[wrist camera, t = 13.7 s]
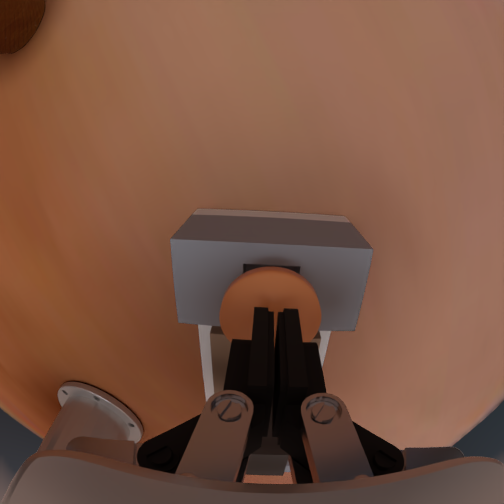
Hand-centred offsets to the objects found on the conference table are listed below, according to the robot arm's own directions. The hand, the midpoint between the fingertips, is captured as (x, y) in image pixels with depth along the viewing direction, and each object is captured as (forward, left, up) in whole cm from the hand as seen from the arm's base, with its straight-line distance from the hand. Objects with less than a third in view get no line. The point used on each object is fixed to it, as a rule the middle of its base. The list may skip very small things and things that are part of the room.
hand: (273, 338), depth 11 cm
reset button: (0, 0, -4) cm, 4 cm away
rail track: (-13, -5, -10) cm, 17 cm away
